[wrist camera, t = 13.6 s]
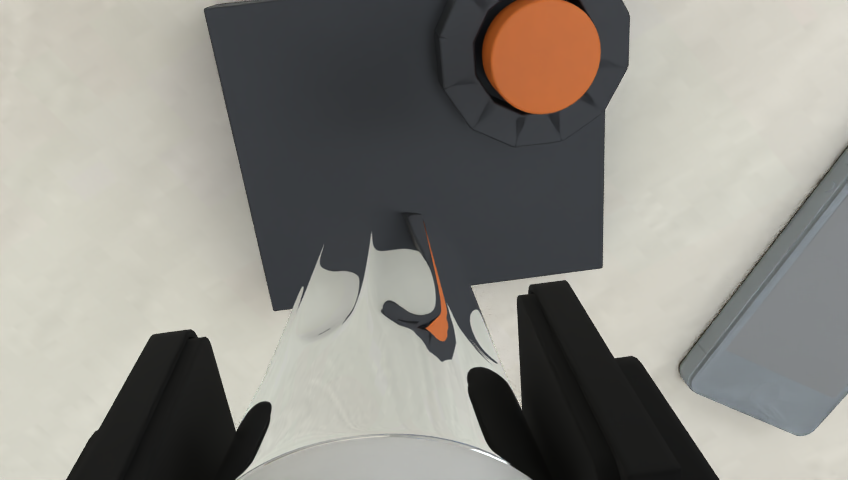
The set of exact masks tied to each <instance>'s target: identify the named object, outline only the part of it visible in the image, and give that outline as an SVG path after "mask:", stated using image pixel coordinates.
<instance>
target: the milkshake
mask: <svg viewBox="0 0 848 480" xmlns="http://www.w3.org/2000/svg"><path fill="white" fill-rule="evenodd" d="M214 480H553V478H552V475H551V473H550V471H549V469H548V467H547V464H546V462H545V460H544V458H543V456H542V453H541V451H540V449H539V447H538V445H537V443H536V440H535V438H534V436H533V434H532V432H531V429H530V427H529V425H528V423H527V421H526V418H525V416H524V414H523V412H522V410H521V407H520V405H519V403H518V401H517V398H516V396H515V394H514V392H513V389H512V387H511V385H510V382H509V380H508V378H507V375H506V373H505V370H504V368H503V365H502V363H501V360H500V358H499V355H498V353H497V350H496V348H495V345H494V343H493V340H492V338H491V335H490V333H489V330H488V328H487V325H486V323H485V320H484V318H483V315H482V313H481V310H480V308H479V306H478V303H477V301H476V298H475V296H474V293H473V291H472V288H471V286H470V283H469V281H468V278H467V276H466V274H465V271H464V269H463V266H462V264H461V261H460V259H459V256H458V254H457V251H456V249H455V247H454V245H453V244H452V243H451V242H450V241H449V240H448V239H447V238H446V237H445V236H444V235H443V234H442V233H441V232H440V231H438V230H437V229H436V228H435V227H434V226H433V225H432V224H431V223H430V222H429V221H428V220H427V219H426V218H425V217H424V216H423V215H422V214H420V213H414V212H407V211H400V210H394V209H388V208H382V207H376V206H374V207H371V208H369V209H367V210H365V211H363V212H361V213H359V214H357V215H354V216H352V217H350V218H348V219H346V220H344V221H341V222H339V223H337V224H335V225H333V226H331V228H330V230H329V231H328V233H327V235H326V237H325V239H324V241H323V243H322V245H321V247H320V249H319V251H318V253H317V254H316V256H315V258H314V260H313V262H312V264H311V266H310V268H309V270H308V272H307V275H306V277H305V280H304V282H303V284H302V287H301V289H300V292H299V294H298V297H297V299H296V301H295V304H294V306H293V309H292V311H291V313H290V316H289V318H288V321H287V323H286V326H285V328H284V330H283V333H282V335H281V338H280V340H279V343H278V345H277V347H276V350H275V352H274V355H273V357H272V359H271V362H270V364H269V367H268V369H267V371H266V374H265V376H264V379H263V381H262V383H261V385H260V386H259V388H258V390H257V391H256V393H255V395H254V397H253V399H252V401H251V403H250V405H249V407H248V409H247V411H246V413H245V415H244V417H243V419H242V421H241V423H240V425H239V427H238V429H237V431H236V434H235V436H234V438H233V440H232V442H231V444H230V446H229V448H228V450H227V452H226V454H225V457H224V459H223V461H222V463H221V465H220V467H219V469H218V471H217V473H216V475H215V478H214Z"/></svg>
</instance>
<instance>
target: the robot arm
mask: <svg viewBox="0 0 848 480" xmlns="http://www.w3.org/2000/svg"><path fill="white" fill-rule="evenodd" d="M517 314H518V335H519V356H520V376H521V397H522V412H523V414H524V416H525V418H526V421H527V423H528V425H529V427H530V429H531V432H532V434H533V436H534V438H535V440H536V443H537V445H538V447H539V449H540V451H541V453H542V456H543V458H544V460H545V462H546V464H547V467H548V469H549V471H550V473H551V475H552V478H553V480H719V478H718V477H717V475H716V474H715V472H714V471H713V469H712V468H711V466H710V465H709V463H708V462H707V460H706V459H705V457H704V456H703V454H702V453H701V451H700V450H699V448H698V447H697V445H696V444H695V443H694V441H693V440H692V438H691V437H690V435H689V434H688V432H687V431H686V429H685V428H684V426H683V425H682V423H681V422H680V420H679V419H678V417H677V416H676V414H675V413H674V411H673V410H672V408H671V407H670V405H669V404H668V402H667V401H666V399H665V398H664V396H663V395H662V393H661V392H660V390H659V389H658V387H657V386H656V384H655V383H654V381H653V380H652V378H651V377H650V375H649V374H648V372H647V371H646V369H645V368H644V366H643V365H642V364H641V362H640V361H639V360H638V359H637V358H635V357H633V356H629V357H622V358H614V357H613V355H612V354H611V352H610V350H609V349H608V347H607V345H606V344H605V342H604V341H603V339H602V337H601V336H600V334H599V332H598V331H597V329H596V327H595V326H594V324H593V323H592V321H591V319H590V318H589V316H588V314H587V313H586V311H585V309H584V308H583V306H582V305H581V303H580V301H579V300H578V298H577V296H576V295H575V293H574V291H573V290H572V288H571V287H570V285H569V283H568V282H567V281H566V280H563V281H555V282H547V283H540V284H532V285H530V286H529V291H528V294H527V295H519V296H518V297H517ZM235 434H236V430H235V427H234V423H233V420H232V416H231V413H230V409H229V406H228V402H227V399H226V395H225V392H224V388H223V385H222V381H221V378H220V374H219V371H218V367H217V364H216V360H215V357H214V353H213V350H212V346H211V344H210V341H209V340H208V338H206V337H201V338H198V337H197V335H196V333H195V332H194V331H193V330H191V329H190V330H182V331H175V332H167V333H160V334H154V335H152V336H151V337H150V338H149V340H148V342H147V344H146V346H145V347H144V349H143V351H142V353H141V355H140V356H139V358H138V360H137V362H136V364H135V365H134V367H133V369H132V371H131V373H130V374H129V376H128V378H127V380H126V381H125V383H124V385H123V387H122V389H121V390H120V392H119V394H118V396H117V398H116V399H115V401H114V403H113V405H112V407H111V408H110V410H109V412H108V414H107V416H106V417H105V419H104V421H103V423H102V425H101V426H100V428H99V430H97V431H95V432H94V434H93V435H92V436H91V438H90V439H89V440H88V442H87V444H86V446H85V447H84V449H83V451H82V453H81V455H80V456H79V458H78V460H77V462H76V463H75V465H74V467H73V469H72V470H71V472H70V474H69V476H68V477H67V479H66V480H214V478H215V475H216V473H217V471H218V469H219V467H220V465H221V463H222V461H223V459H224V457H225V454H226V452H227V450H228V448H229V446H230V444H231V442H232V440H233V438H234V436H235Z"/></svg>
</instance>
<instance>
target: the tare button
mask: <svg viewBox="0 0 848 480" xmlns="http://www.w3.org/2000/svg"><path fill="white" fill-rule="evenodd" d="M600 55H601V47H600V40H599V36H598V32H597V30H596V28H595V26H594V24H593V22H592V21H591V19H590V18H589V16H588V15H587V14H586V13H585V12H584V11H583V10H581V9H580V8H579V7H577V6H575V5H574V4H572V3H569V2H567V1H563V0H516V1H514V2H512V3H511V4H509V5H508V6H506V7H505V8H504V9H502V10H501V11H500V12H499V13H498V14H497V16H496V17H495V18H494V19H493V21H492V22H491V24H490V26H489V27H488V29H487V32H486V34H485V37H484V41H483V46H482V62H483V67H484V71H485V74H486V76H487V78H488V80H489V82H490V84H491V85H492V86H493V87H494V89H495V90H496V91H497V92H498V93H499V94H500V95H501V96H502V97H503V98H504V99H505V100H506V101H507V102H508V103H509V104H511V105H512V106H513V107H515V108H517V109H519V110H521V111H524V112H527V113H531V114H549V113H554V112H557V111H560V110H563V109H565V108H567V107H569V106H570V105H572V104H573V103H575V102H576V101H577V100H578V99H580V98H581V97H582V96H583V95H584V94H585V92H586V91H587V90H588V88H589V87H590V85H591V84H592V82H593V80H594V78H595V76H596V74H597V71H598V68H599V63H600Z"/></svg>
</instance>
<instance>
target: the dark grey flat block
mask: <svg viewBox="0 0 848 480" xmlns="http://www.w3.org/2000/svg"><path fill="white" fill-rule="evenodd" d="M514 1H516V0H251V1H242V2H234V3H225V4H216V5H213V6H211V7H208V8H205V9H204V13H205V17H206V22H207V26H208V30H209V35H210V39H211V43H212V48H213V52H214V56H215V61H216V65H217V69H218V74H219V78H220V82H221V86H222V91H223V95H224V99H225V104H226V108H227V112H228V117H229V121H230V125H231V130H232V134H233V138H234V143H235V147H236V151H237V156H238V160H239V164H240V168H241V173H242V177H243V181H244V186H245V190H246V194H247V199H248V203H249V207H250V212H251V216H252V220H253V225H254V229H255V233H256V237H257V242H258V246H259V250H260V255H261V259H262V263H263V268H264V272H265V276H266V281H267V285H268V289H269V294H270V298H271V302H272V307H273V310H274V311H279V310H287V309H293V306H294V304H295V301H296V299H297V297H298V294H299V292H300V289H301V287H302V284H303V282H304V280H305V277H306V275H307V272H308V270H309V268H310V266H311V264H312V262H313V260H314V258H315V256H316V254H317V253H318V251H319V249H320V247H321V245H322V243H323V241H324V239H325V237H326V235H327V233H328V231H329V230H330V228H331V226H333V225H335V224H337V223H339V222H341V221H344V220H346V219H348V218H350V217H352V216H354V215H357V214H359V213H361V212H363V211H365V210H367V209H369V208H371V207H374V206H376V207H382V208H388V209H394V210H400V211H407V212H414V213H420V214H422V215H423V216H424V217H425V218H426V219H427V220H428V221H429V222H430V223H431V224H432V225H433V226H434V227H435V228H436V229H437V230H438V231H440V232H441V233H442V234H443V235H444V236H445V237H446V238H447V239H448V240H449V241H450V242H451V243H452V244H453V245H454V247H455V249H456V251H457V254H458V256H459V259H460V261H461V264H462V266H463V269H464V271H465V274H466V276H467V278H468V281H469V283H470V285H478V284H485V283H493V282H501V281H508V280H516V279H523V278H531V277H539V276H546V275H554V274H562V273H569V272H577V271H585V270H592V269H600V268H602V267H603V204H604V137H605V109H606V107H607V105H608V103H609V101H610V99H611V98H612V96H613V94H614V92H615V90H616V89H617V87H618V85H619V83H620V81H621V79H622V78H623V76H624V74H625V72H626V70H627V67H628V62H629V28H630V16H629V12H628V10H627V8H626V7H625V5H624V3H623V1H622V0H563V1H567V2H569V3H572V4H574V5H575V6H577V7H579V8H580V9H581V10H583V11H584V12H585V13H586V14H587V15H588V16H589V18H590V19H591V21H592V22H593V24H594V26H595V28H596V30H597V32H598V36H599V40H600V47H601V55H600V63H599V68H598V71H597V74H596V76H595V78H594V80H593V82H592V84H591V85H590V87H589V88H588V90H587V91H586V92H585V94H584V95H583V96H582V97H581V98H580V99H578V100H577V101H576V102H575V103H573V104H572V105H570V106H569V107H567V108H565V109H563V110H560V111H557V112H554V113H549V114H531V113H527V112H524V111H521V110H519V109H517V108H515V107H513V106H512V105H511V104H509V103H508V102H507V101H506V100H505V99H504V98H503V97H502V96H501V95H500V94H499V93H498V92H497V91H496V90H495V89H494V87H493V86H492V85H491V84H490V82H489V80H488V78H487V76H486V74H485V71H484V67H483V62H482V46H483V41H484V37H485V34H486V32H487V29H488V27H489V26H490V24H491V22H492V21H493V19H494V18H495V17H496V16H497V14H498V13H499V12H500V11H501V10H502V9H504V8H505V7H506V6H508V5H509V4H511V3H512V2H514Z"/></svg>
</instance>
